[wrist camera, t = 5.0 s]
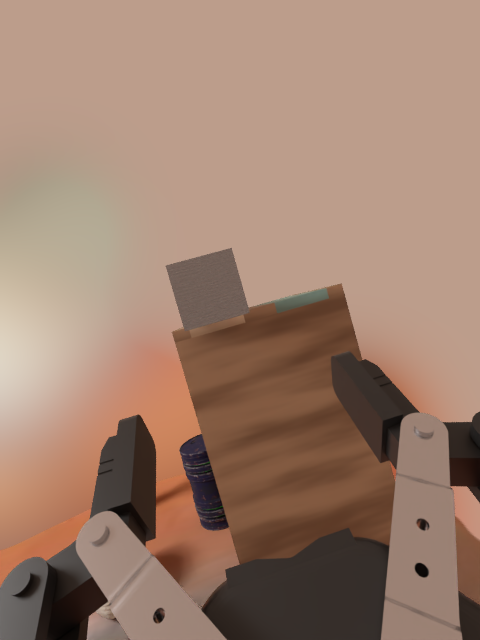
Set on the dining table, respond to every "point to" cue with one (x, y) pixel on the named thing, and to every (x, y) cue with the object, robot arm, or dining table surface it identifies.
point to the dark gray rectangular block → (207, 289)
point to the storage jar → (203, 484)
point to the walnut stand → (284, 426)
